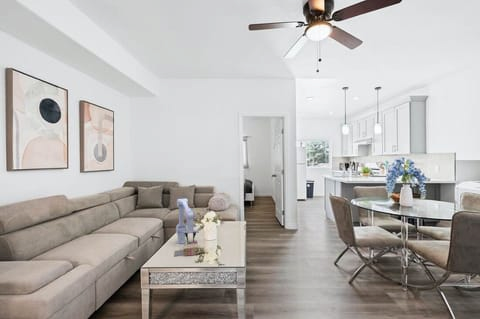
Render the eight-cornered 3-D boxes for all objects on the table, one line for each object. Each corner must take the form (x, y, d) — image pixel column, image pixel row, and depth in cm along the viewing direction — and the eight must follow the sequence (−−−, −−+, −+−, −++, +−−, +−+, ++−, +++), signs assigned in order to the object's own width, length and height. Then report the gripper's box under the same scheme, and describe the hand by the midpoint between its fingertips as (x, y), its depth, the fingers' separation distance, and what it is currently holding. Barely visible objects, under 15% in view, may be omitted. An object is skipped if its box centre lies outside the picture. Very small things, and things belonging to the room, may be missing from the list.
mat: (174, 251, 232) (174, 250, 232) (206, 248, 238) (206, 248, 238) (174, 256, 218) (174, 256, 218) (207, 253, 224) (207, 253, 224)
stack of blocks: (197, 247, 241) (183, 248, 239) (197, 240, 241) (183, 241, 239) (198, 254, 220) (183, 255, 218) (198, 247, 220) (183, 248, 218)
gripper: (182, 227, 229) (182, 243, 228) (198, 226, 232) (198, 241, 232) (182, 225, 236) (182, 240, 235) (198, 224, 239) (198, 239, 238)
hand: (190, 241), depth 234 cm, fingers open, 4 cm apart
